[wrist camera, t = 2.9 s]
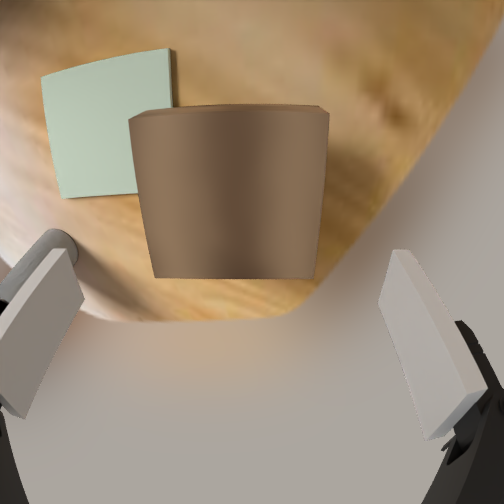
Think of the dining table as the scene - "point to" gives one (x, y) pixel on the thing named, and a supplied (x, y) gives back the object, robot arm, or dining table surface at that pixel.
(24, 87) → the dining table surface
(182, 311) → the dining table surface
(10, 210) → the dining table surface
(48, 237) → the grey cylinder
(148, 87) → the mat
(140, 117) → the cover
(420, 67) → the dining table surface
